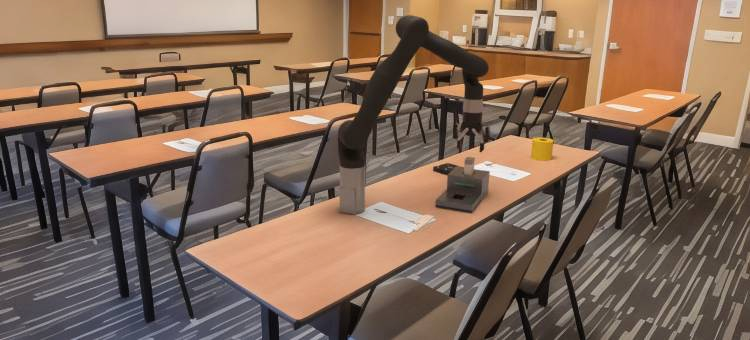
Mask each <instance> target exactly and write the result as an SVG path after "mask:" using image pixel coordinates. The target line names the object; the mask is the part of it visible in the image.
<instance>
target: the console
mask: <svg viewBox="0 0 750 340" xmlns="http://www.w3.org/2000/svg"><path fill="white" fill-rule="evenodd" d="M461 167H462V166H460V167H455V168H454V169H453V170H452V171H451V172H450V173H449V174H448V176H447V175H446V176H447V179H446V188H445V190H444V191H443V192H442V193H441V194H440V195H438V197H437V198H436V199H435V208H437V209H444V210H451V211H454V212H455V211H456V212H461V213H468V214H472V213H473V212H474V211H475V210H476V208H477V207H478V206H479V205H480V203H481V202H482V201H483V200H484V198H485V197H486V195H488V193H489V184H490V183H489V182H490V172H491V171H490V170H483V169H475V168H474V174H473V175H466V174H464V168H461Z"/></svg>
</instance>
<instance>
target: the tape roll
mask: <svg viewBox="0 0 750 340" xmlns="http://www.w3.org/2000/svg"><path fill="white" fill-rule="evenodd" d="M531 144H532V145H531V154H530V159H532V160H534V161H540V162H541V161H542V162H549V161H551V160H552V157H553V149H554V140H553V139H552V138H548V137H534V138H532V143H531Z"/></svg>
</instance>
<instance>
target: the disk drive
mask: <svg viewBox="0 0 750 340" xmlns="http://www.w3.org/2000/svg"><path fill="white" fill-rule="evenodd" d="M455 167H461V168H464V166H460V165H457V164H453V163H449V162H446V163H442V164H439V165H434V166H432V169H433V170H432V171H433V172H435V173H438V174H442V175H444V176H448V174H449V173H450V172H451V171H452V170H453V169H454V168H455Z"/></svg>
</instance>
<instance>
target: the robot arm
mask: <svg viewBox="0 0 750 340" xmlns="http://www.w3.org/2000/svg"><path fill="white" fill-rule="evenodd" d="M395 33H396V35H397V37H398V38H399V39H400V40H399V41H398V43H397V45H396V46H395V48H394V50H393V51H392V52H391V53H390V54H389V55H388V56H387V57H386V58H385V59H383V61H382V62H381V63H379V65H378V66H377V67H376V68H375V70H374V72H373V73H372V75H371V77H370V78H369V80H368V82H367V84H366V87H365V89H364V93H363V98H362V102H361V105H360V107H359V109H358V111H357V112H356V115H355V116H354V117H353V119H350V120H348V119H347V120H345V121H344V122H342V123H341V124H340V125H339V127H338V131H337V153H338V159H339V191H338V192H339V193H338V194H339V195H338V196H339V197H338V198H339V213H343V214H349V215H356V214H360V213H363V212H364V211H365V210H366V158H365V155H364V146H365V144H366V143H367V142H368V140H369V138H370V135H371V133H372V130H373V128H374V126H375V124H376V121H377V120H378V118H379V116H380V114H381V113H382V111H383V109H384V108H385V106H386V104H387V102H388V101H389V99H390V98H391V96H392V94H393V92H394V91H395V89H396V88H397V86H398V84H399V82H400V79H402V77H403V75H404V73H405V71H406V70H407V68H408V66H409V65H410V63H411V61H412V59H413V58H414V56H415V55H416V54H417V52H418V51H419V49H420V48H423V49H425V50H427V51H429V52H431V53H432V54H434V55H435V56H437V57H438V58H441V60H443V61H444V62H446V63H449V64H450V65H452V66H454V67H456V68H459V69H461V72H462V75H461V76H462V80H463V85H464V96H463V97H464V98H463V104H462V119H461V120H462V122H461V123H459V122H456V123H454V124H453V131H452V139H455V140H456V148H457V150H458V151H461V150H462V144H463V143H462V142H463V140H462V139H463V138H464V137H465V136H467V137H476V138H477V139H478V141H479V142H480V143H479V153H483V151H484V150H485V143H488V142H490V140H491V137H490V136H491V128H490V127H491V126H490V125H487V126H485V125H484V126H483V112H484V85H483V84H482V83H481V82H480V81H479V78H482V77H484V76H486V75H488V73H489V64H488V61H487V60H485V59H484V58H483V57H481V56H479V55H477V54H475V53H473V52H470V51H467V50H466V49H465V48H463V47H461V46H460V45H459V44H456V43H455V42H452V41H451V40H449V39H446V38H444V37H442V36H440V35H438V34H436V33H433V32H432V31H430V27H429V23H428V21H427V20H426V19H425V18H423V17H421V16H416V15H411V14H408V15H407V14H406V15H404V16H402V17H400V18H399V19H398V20H397V21H396V24H395ZM460 128H461V130H462V132H461V133H460V134H458V133H459V132H458V131H459V129H460ZM482 131H483V132H484V133H485V137H484V136H483V134H482Z"/></svg>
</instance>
